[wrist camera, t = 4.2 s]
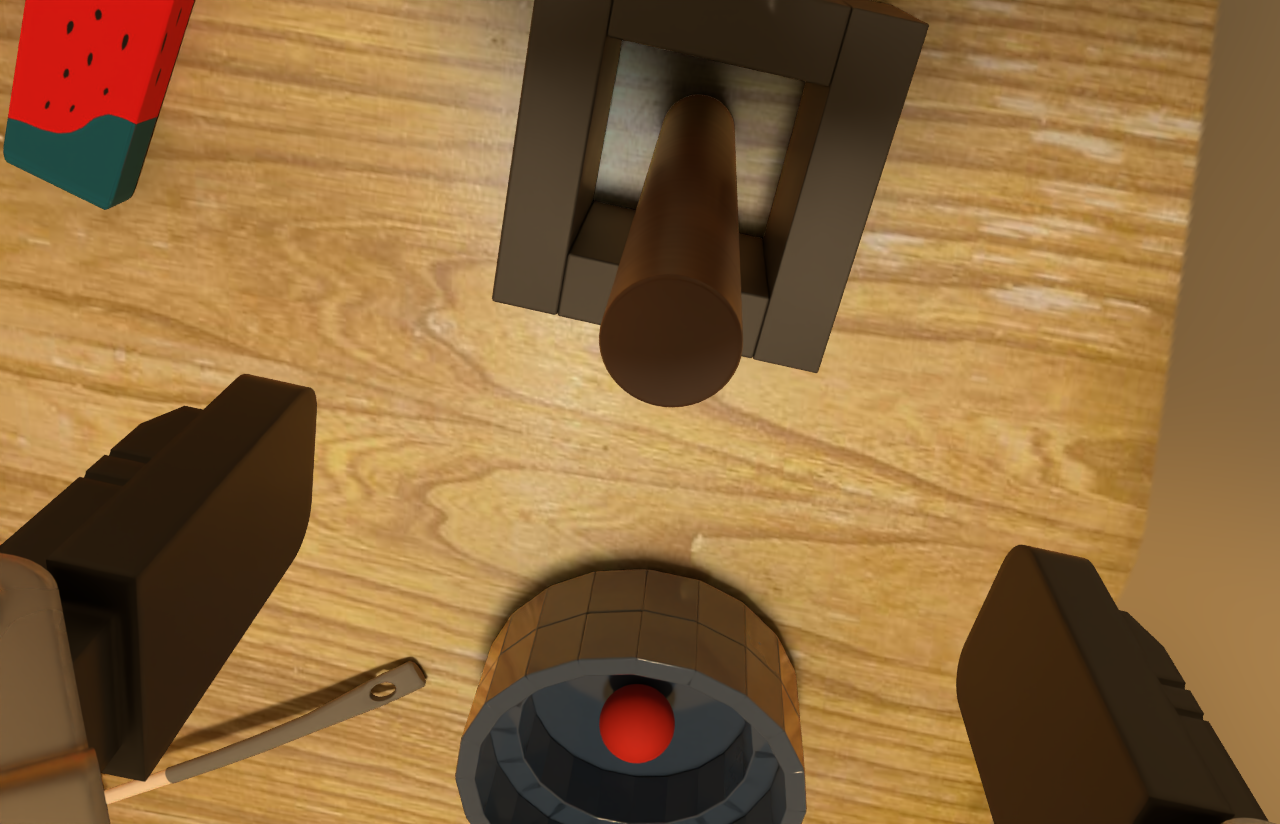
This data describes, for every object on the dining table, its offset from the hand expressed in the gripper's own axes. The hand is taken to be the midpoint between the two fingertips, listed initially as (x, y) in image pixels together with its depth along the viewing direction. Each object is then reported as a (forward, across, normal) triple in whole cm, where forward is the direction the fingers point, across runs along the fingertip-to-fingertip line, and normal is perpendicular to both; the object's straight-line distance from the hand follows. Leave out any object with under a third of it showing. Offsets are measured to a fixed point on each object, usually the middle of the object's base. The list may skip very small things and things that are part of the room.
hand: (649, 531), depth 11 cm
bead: (+21, -3, +24) cm, 32 cm away
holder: (+24, 0, 0) cm, 24 cm away
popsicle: (+24, +19, -1) cm, 30 cm away
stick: (+24, 0, 0) cm, 24 cm away
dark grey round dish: (+24, -3, +24) cm, 34 cm away
